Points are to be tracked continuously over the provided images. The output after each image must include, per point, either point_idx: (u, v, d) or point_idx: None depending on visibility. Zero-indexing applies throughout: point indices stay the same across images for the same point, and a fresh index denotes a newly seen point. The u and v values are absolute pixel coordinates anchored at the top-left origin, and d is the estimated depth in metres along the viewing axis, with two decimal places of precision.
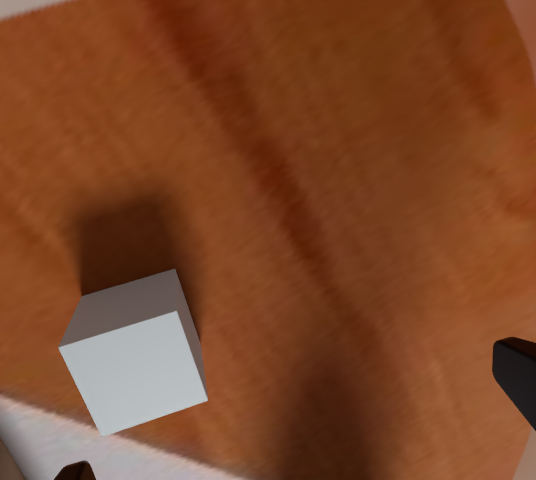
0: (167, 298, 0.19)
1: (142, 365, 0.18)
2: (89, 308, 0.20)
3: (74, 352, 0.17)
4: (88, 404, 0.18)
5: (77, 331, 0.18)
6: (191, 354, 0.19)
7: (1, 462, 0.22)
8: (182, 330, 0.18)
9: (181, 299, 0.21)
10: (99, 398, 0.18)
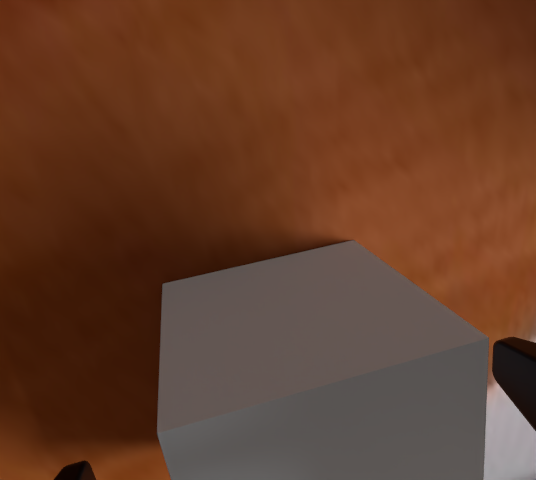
0: None
1: None
2: None
3: None
4: None
5: None
6: (323, 383, 0.06)
7: None
8: (231, 415, 0.06)
9: (210, 308, 0.08)
10: None
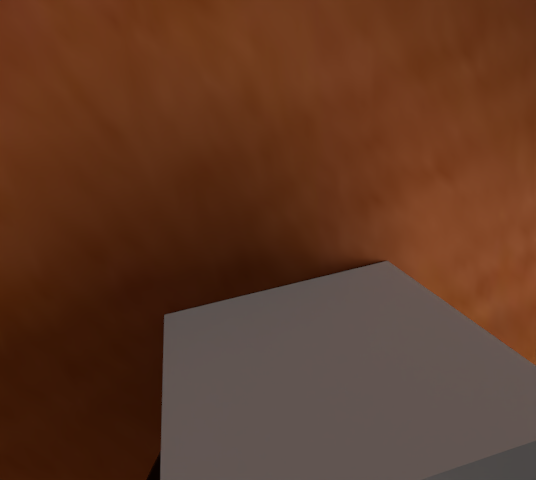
0: None
1: None
2: None
3: None
4: None
5: None
6: None
7: None
8: None
9: (224, 354, 0.07)
10: None
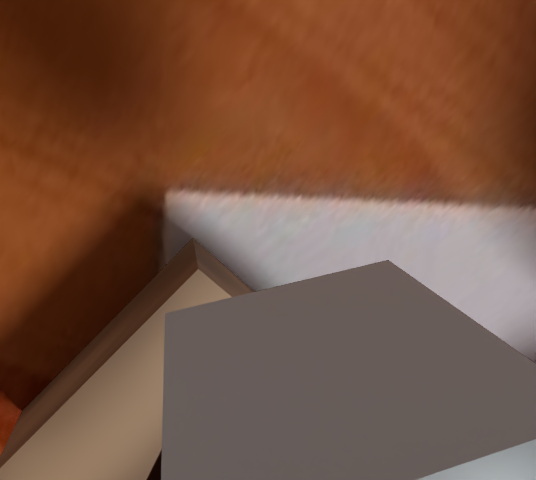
0: None
1: None
2: None
3: None
4: None
5: None
6: None
7: (222, 269, 0.18)
8: None
9: (225, 352, 0.07)
10: None
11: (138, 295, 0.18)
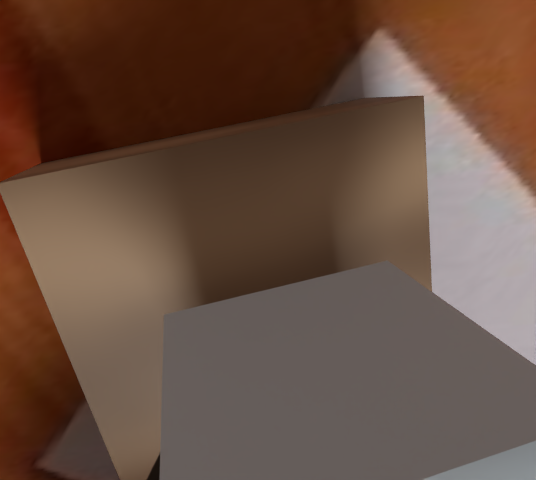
0: None
1: None
2: None
3: None
4: None
5: None
6: None
7: None
8: None
9: (224, 353, 0.07)
10: None
11: (275, 116, 0.14)
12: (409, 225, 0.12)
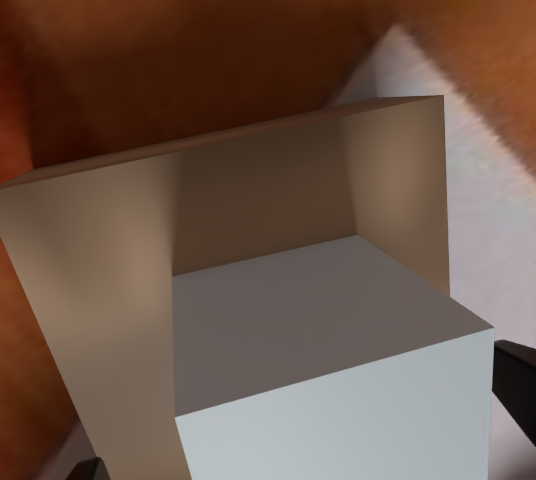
0: None
1: None
2: None
3: None
4: None
5: None
6: (334, 370, 0.06)
7: None
8: (246, 400, 0.06)
9: (220, 300, 0.09)
10: None
11: (282, 117, 0.13)
12: (427, 234, 0.12)
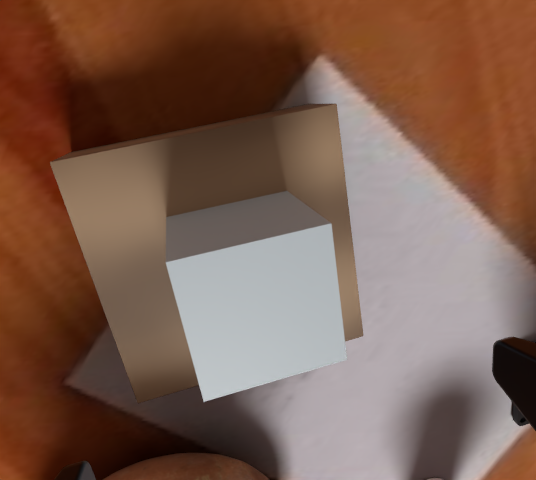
0: None
1: (250, 310, 0.13)
2: None
3: (214, 385, 0.13)
4: (294, 372, 0.14)
5: None
6: (246, 243, 0.12)
7: None
8: (200, 255, 0.12)
9: (194, 224, 0.15)
10: (288, 360, 0.14)
11: (240, 118, 0.19)
12: (332, 194, 0.18)
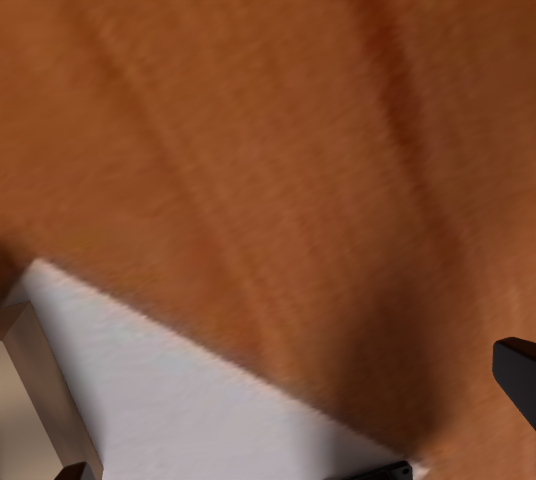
0: None
1: None
2: None
3: None
4: None
5: None
6: None
7: (37, 339, 0.19)
8: None
9: None
10: None
11: None
12: (20, 416, 0.17)
